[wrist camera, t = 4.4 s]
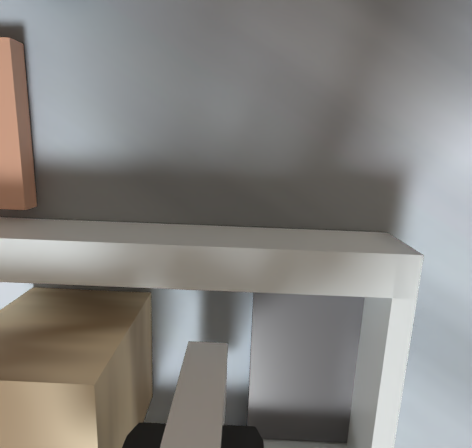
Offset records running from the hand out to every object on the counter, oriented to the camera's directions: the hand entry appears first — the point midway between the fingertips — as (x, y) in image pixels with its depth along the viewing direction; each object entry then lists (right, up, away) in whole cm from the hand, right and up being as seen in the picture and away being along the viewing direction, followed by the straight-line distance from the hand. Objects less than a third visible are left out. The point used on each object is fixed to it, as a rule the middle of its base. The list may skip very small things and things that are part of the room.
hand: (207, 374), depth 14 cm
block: (-5, +1, +2) cm, 5 cm away
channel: (-1, 0, +2) cm, 2 cm away
